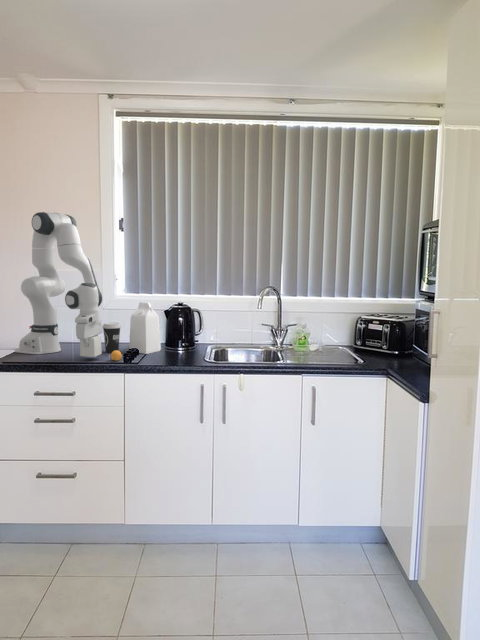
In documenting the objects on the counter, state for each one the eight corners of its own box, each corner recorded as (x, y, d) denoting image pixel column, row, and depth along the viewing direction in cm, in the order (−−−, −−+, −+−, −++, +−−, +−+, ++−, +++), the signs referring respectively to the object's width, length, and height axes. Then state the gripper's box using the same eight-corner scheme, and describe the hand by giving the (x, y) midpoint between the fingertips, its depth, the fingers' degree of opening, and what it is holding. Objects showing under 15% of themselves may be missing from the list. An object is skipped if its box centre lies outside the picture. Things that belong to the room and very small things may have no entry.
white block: (80, 356, 218) (79, 338, 217) (87, 353, 225) (86, 335, 224) (94, 356, 217) (94, 338, 216) (101, 353, 224) (100, 336, 223)
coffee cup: (110, 354, 234) (109, 325, 232) (98, 351, 240) (98, 323, 238) (125, 351, 242) (124, 323, 240) (113, 349, 247) (113, 321, 245)
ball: (109, 361, 217) (108, 351, 217) (113, 359, 222) (113, 349, 222) (119, 362, 217) (119, 351, 216) (123, 359, 222) (123, 349, 221)
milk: (160, 350, 246) (160, 302, 243) (146, 353, 236) (145, 303, 233) (144, 347, 252) (143, 301, 249) (129, 351, 242) (128, 302, 239)
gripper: (93, 314, 229) (94, 341, 231) (72, 319, 209) (74, 349, 211) (105, 314, 228) (106, 342, 230) (85, 319, 208) (87, 349, 210)
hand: (90, 345), depth 220 cm, fingers closed on white block, 7 cm apart
